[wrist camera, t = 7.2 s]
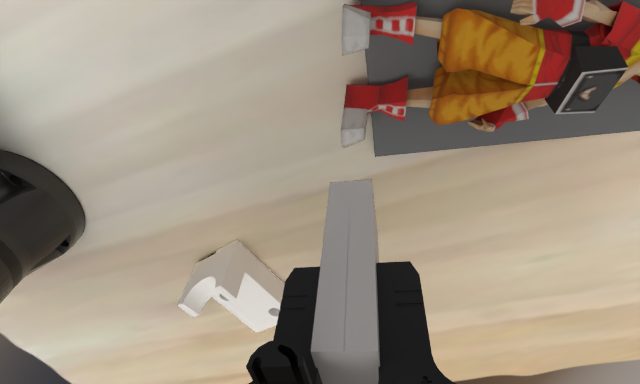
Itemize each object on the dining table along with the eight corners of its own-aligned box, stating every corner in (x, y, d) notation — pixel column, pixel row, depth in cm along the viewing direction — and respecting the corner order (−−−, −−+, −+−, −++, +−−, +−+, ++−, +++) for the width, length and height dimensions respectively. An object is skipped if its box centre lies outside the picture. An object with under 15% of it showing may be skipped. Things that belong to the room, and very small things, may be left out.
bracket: (198, 258, 51) (177, 305, 45) (237, 237, 48) (220, 285, 42) (261, 311, 57) (249, 359, 50) (299, 296, 54) (292, 345, 48)
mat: (375, 152, 39) (375, 156, 38) (348, -127, 26) (348, -128, 25) (640, 125, 35) (646, 129, 34) (763, -218, 22) (775, -222, 21)
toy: (338, 41, 22) (929, 39, 19) (344, -40, 27) (819, -50, 24) (340, 165, 32) (730, 175, 29) (345, 90, 37) (680, 93, 34)
